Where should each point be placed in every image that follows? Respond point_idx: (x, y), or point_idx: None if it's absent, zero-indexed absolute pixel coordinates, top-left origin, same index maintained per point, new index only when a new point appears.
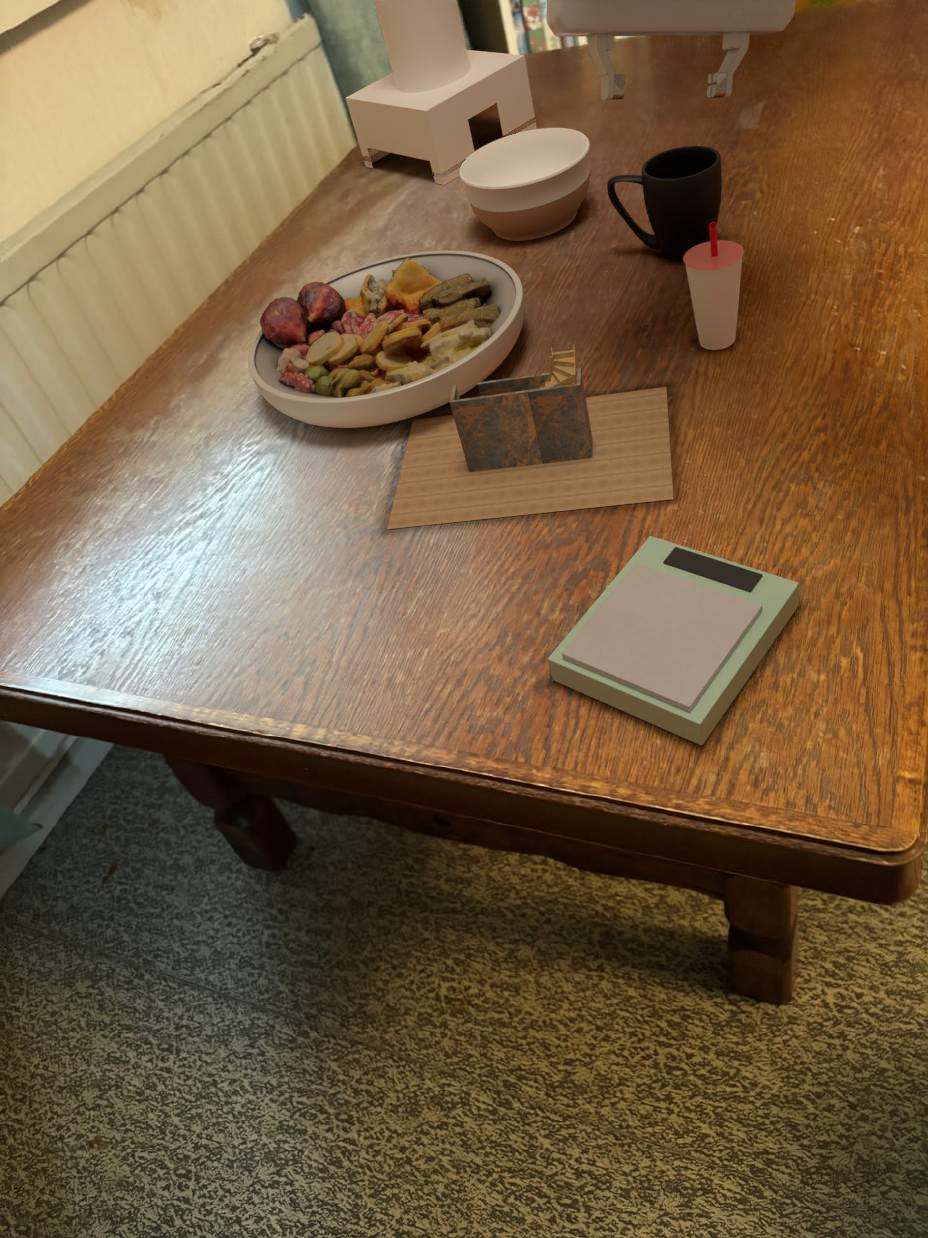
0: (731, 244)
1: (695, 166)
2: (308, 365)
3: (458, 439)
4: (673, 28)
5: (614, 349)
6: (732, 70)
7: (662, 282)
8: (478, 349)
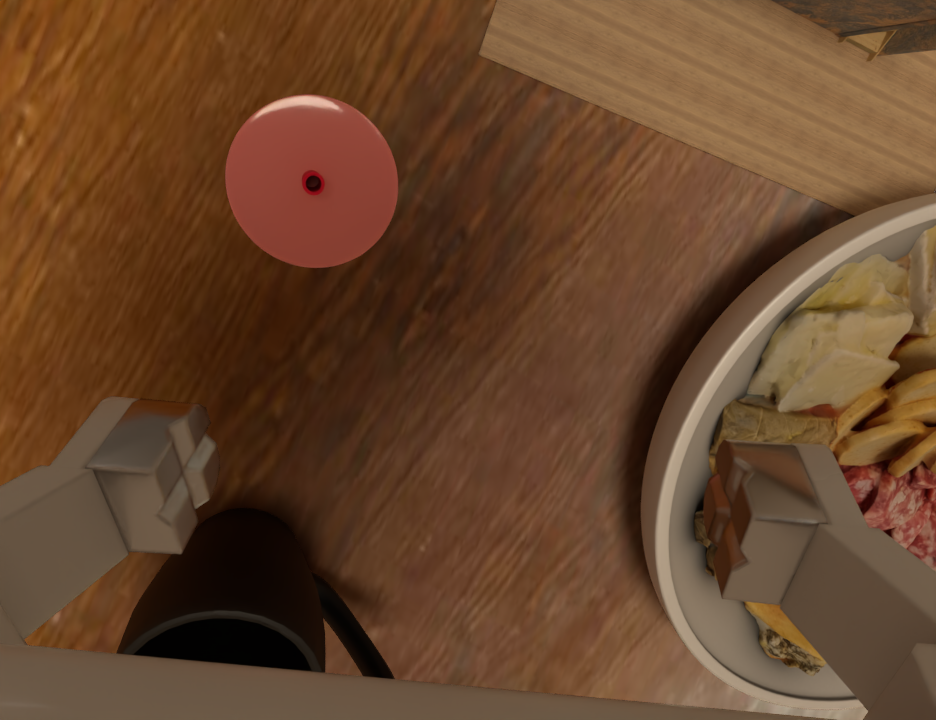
0: (248, 208)
1: None
2: None
3: (873, 124)
4: (450, 685)
5: (514, 259)
6: (51, 470)
7: (337, 451)
8: (846, 253)
